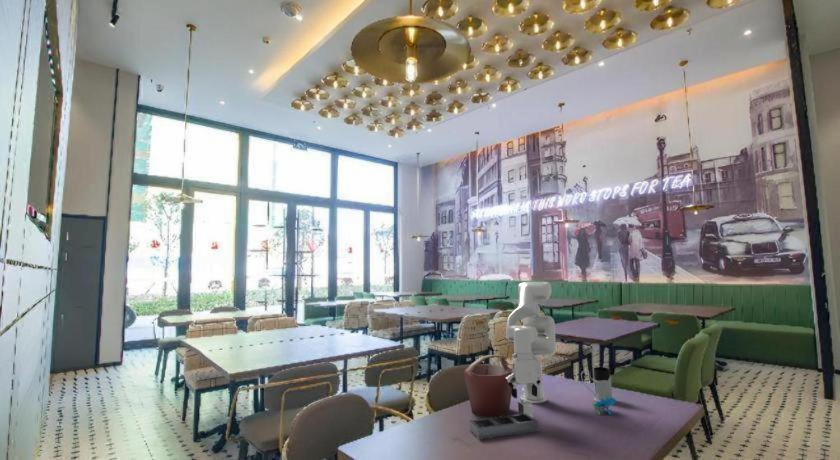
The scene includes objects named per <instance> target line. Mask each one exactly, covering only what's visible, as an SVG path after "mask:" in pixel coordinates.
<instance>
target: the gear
mask: <svg viewBox="0 0 840 460" xmlns="http://www.w3.org/2000/svg"><path fill="white" fill-rule="evenodd" d="M605 399H606V400H603V399H601V400H600V401H596V403H592V404H591V406H592V407H593V408H594V410H595V411H596V412H597V414H598V415H601V412H600V411H601V410H605V409H606V412H607V413H608V415H609V416H610V415H612V412H611V411H610V407H613V406H614V404H616V398H614V397H613V396H612V397H610V399H609V398H608V397H607V398H605Z"/></svg>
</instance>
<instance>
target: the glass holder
mask: <svg viewBox="0 0 840 460" xmlns="http://www.w3.org/2000/svg"><path fill="white" fill-rule="evenodd" d="M584 372H586V373H588V374H589V378H590V380H591V381H593V384H594V385H593V388H594V391H593V390H592V389H591V388H589V387H588V386H587V385H586V383H585V382H584V380H583V373H584ZM611 375H612V374H611V369H610V368H608V367H602V366H601V367H600V366H594V367H593V378H592V377H591V373H590V371H588V370H583V371H581V374H580V376H581V377H580V378H581V381H582V383H583V386H585V388H586V389H588V390H589V391H590V392H591V393H592V394H593V396H594V398H593V399H594V401H596V402H597V401H600V400H601V399H603V400H606V399H605V398H607V397H608V398H609V399H610V397H613V390H612V389H613V388H612V387H613V386H612V376H611Z"/></svg>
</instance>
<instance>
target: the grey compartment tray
mask: <svg viewBox="0 0 840 460" xmlns="http://www.w3.org/2000/svg"><path fill="white" fill-rule="evenodd" d="M538 422H539V420H537V419H536V418H534V417H533V418H532V417H531V416H529V415H528V414H526V413H525V414H519V413H518V414H513V415H503V416H501V417H486V418H480V419H472V420H469V431H470V433H472V432H473V433H474V434H475V435H476V436H477V437H478V438H479V439H481V438H488V439H491V438H490V437H495V438H497V437H496V436H502V437H505V436H504V435H509V436H514V435H513V434H516V435H522V434H521V433H523V434H529V433H528V432H530V433H537V432H539V423H538ZM473 433H472V434H473ZM474 434H473V435H474ZM475 435H474V436H475ZM476 436H475V437H476ZM477 437H476V438H477ZM478 438H477V439H478ZM479 439H478V440H479ZM481 440H482V439H481Z"/></svg>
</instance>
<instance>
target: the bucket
mask: <svg viewBox="0 0 840 460" xmlns="http://www.w3.org/2000/svg"><path fill="white" fill-rule="evenodd" d="M490 358H499V361H500V365H499V364H492V363H491V364H490V363H484V364H483V363H482V362H484V361H485V360H487V359H490ZM506 359H507V358H506V356H505V355H498V354H488V355H482V356H480V357H478V358H477V359H476V360H474V361H473V362H472V363H471V364H470V365H469V366H468V367H466V369H465V370H463V371H464V372H463V373H464V382H465V385H466V390H467V395H468V399H469V404H470V408H471V412H472V413H474V414H476V415H478V414H479V415H478V416H480V415H481V416H480V417H482V416H485V417H486V418H494V417H500V416H501V417H502V415H503V416H506V415H507V414H509V413H510V408H511V407H510V406H511V400H512V390H511V387H510V386H509V385H508V383H507V381H506V377H508V376H509V375H511V374H512V368H510V367H509V365H508V363H509V362H508V361H507V360H506ZM481 363H482V364H481ZM510 381H511V383H512V382H513V381H512V379H510ZM485 417H484V418H485Z"/></svg>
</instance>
